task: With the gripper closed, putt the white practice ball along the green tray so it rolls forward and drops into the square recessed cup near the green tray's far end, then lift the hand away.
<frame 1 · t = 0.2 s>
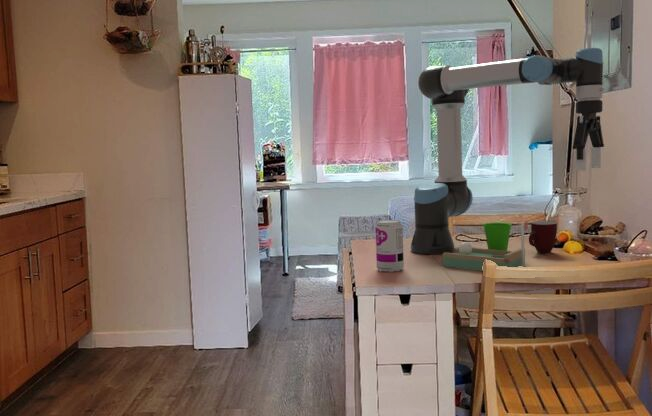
hand: (588, 169, 184), 28 cm above the table, fingers open, 13 cm apart
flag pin: (523, 269, 173), on the table
supplement can: (390, 270, 182), on the table
cup: (497, 258, 192), on the table
green tray: (483, 266, 181), on the table
mug: (541, 253, 197), on the table
ball: (465, 254, 184), point 3 cm above the table, touching green tray
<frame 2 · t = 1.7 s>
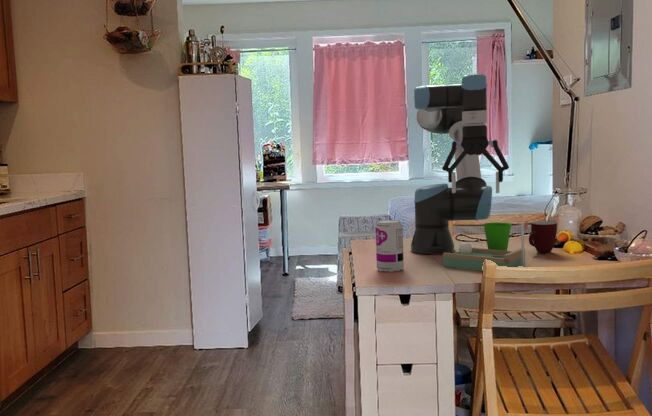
hand: (475, 192, 187), 22 cm above the table, fingers open, 13 cm apart
nothing on the table moved.
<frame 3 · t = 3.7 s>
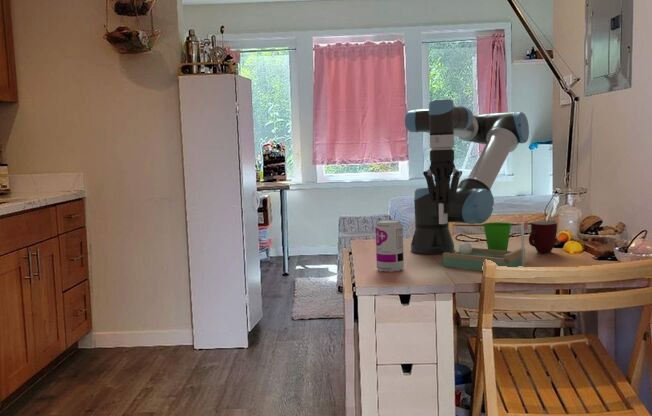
hand: (443, 223, 188), 12 cm above the table, fingers closed
nothing on the table moved.
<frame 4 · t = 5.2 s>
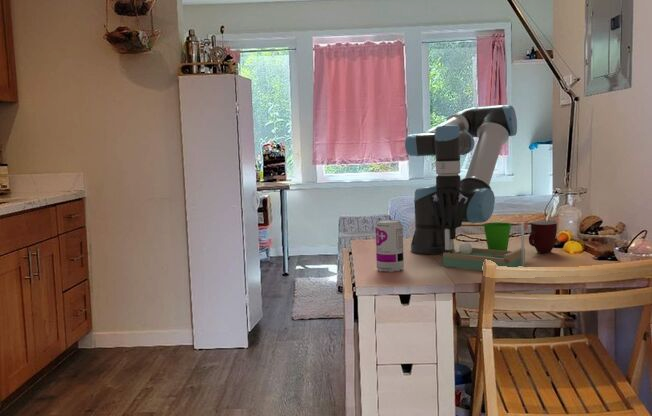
hand: (449, 249, 187), 4 cm above the table, fingers closed
nothing on the table moved.
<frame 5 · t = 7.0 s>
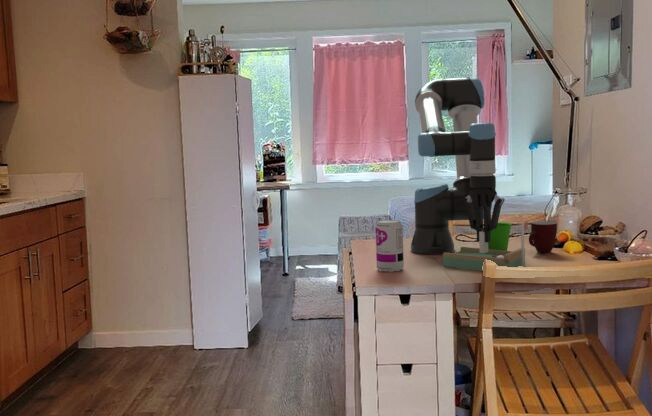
hand: (483, 252, 180), 4 cm above the table, fingers closed
ball: (499, 268, 176), resting in green tray, tilted 10°
everything else where it was.
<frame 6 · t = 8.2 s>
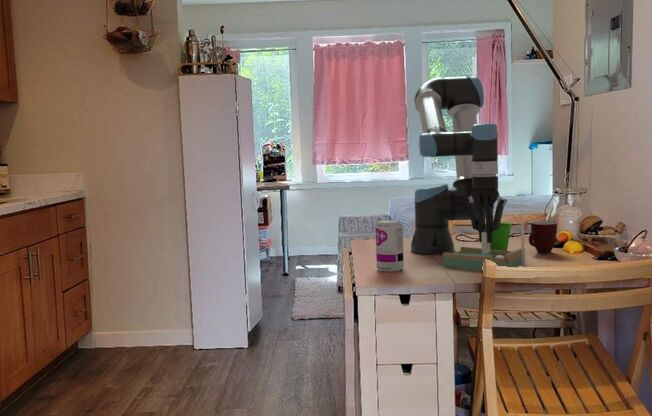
hand: (486, 253, 180), 4 cm above the table, fingers closed
ball: (499, 268, 176), resting in green tray
everything else where it was.
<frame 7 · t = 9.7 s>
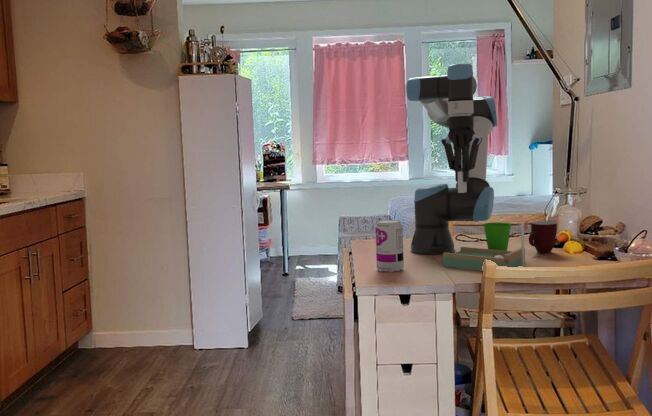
hand: (462, 192, 183), 22 cm above the table, fingers closed
ball: (499, 268, 176), resting in green tray, tilted 10°
everything else where it was.
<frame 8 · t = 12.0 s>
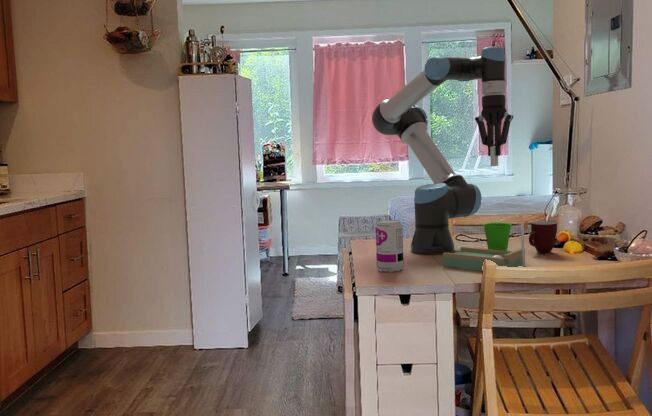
hand: (494, 165, 199), 29 cm above the table, fingers closed
ball: (499, 268, 176), resting in green tray, tilted 26°
everything else where it was.
at the end: ball 0.9 cm from the target spot on the green tray, point 0.2 cm above the green tray's base; the gripper is holding nothing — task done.
